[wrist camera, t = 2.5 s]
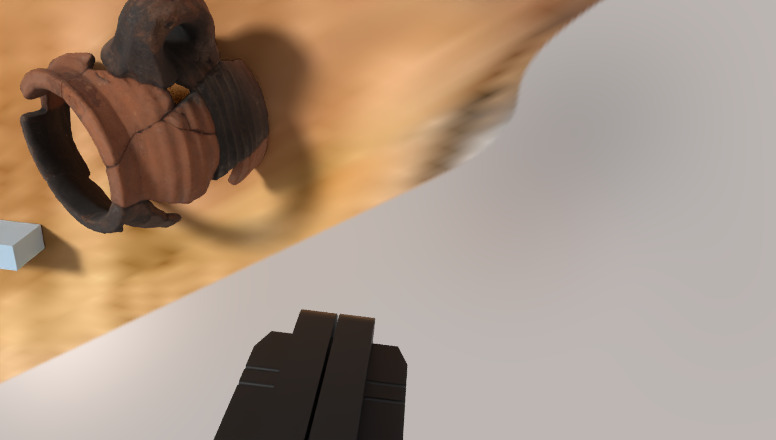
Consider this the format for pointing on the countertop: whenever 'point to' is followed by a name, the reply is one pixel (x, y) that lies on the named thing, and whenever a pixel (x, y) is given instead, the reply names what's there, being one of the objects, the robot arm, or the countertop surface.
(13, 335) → the countertop surface
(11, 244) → the collar
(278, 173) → the countertop surface
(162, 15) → the pottery mug
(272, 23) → the countertop surface
